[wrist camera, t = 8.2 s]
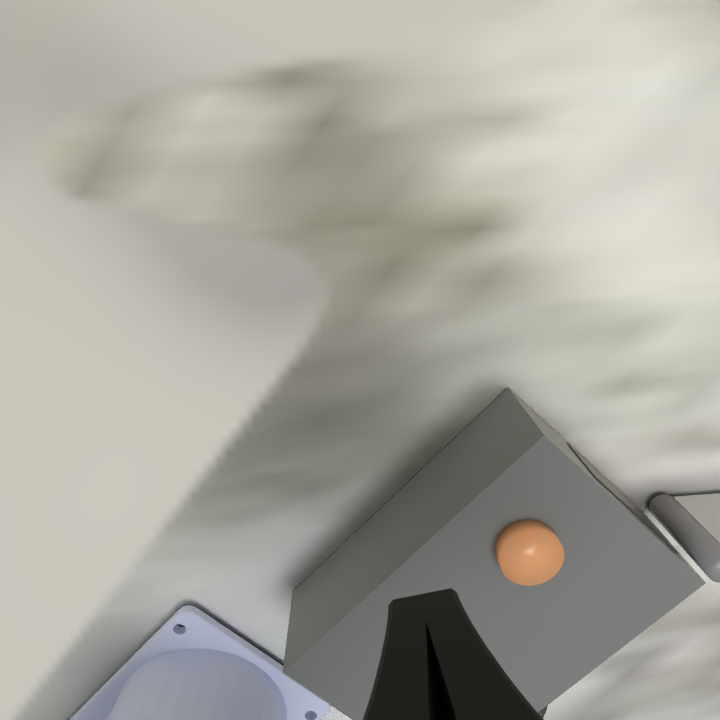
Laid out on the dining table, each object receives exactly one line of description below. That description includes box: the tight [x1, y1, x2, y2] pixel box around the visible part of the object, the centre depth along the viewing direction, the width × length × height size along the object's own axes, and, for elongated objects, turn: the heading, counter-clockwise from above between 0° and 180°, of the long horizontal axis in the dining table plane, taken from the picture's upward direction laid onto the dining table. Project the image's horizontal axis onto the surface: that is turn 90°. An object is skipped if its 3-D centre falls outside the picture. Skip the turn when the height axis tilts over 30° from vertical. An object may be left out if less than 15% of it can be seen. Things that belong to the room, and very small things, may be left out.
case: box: [283, 388, 705, 720], centre depth 21 cm, size 12×9×5 cm
